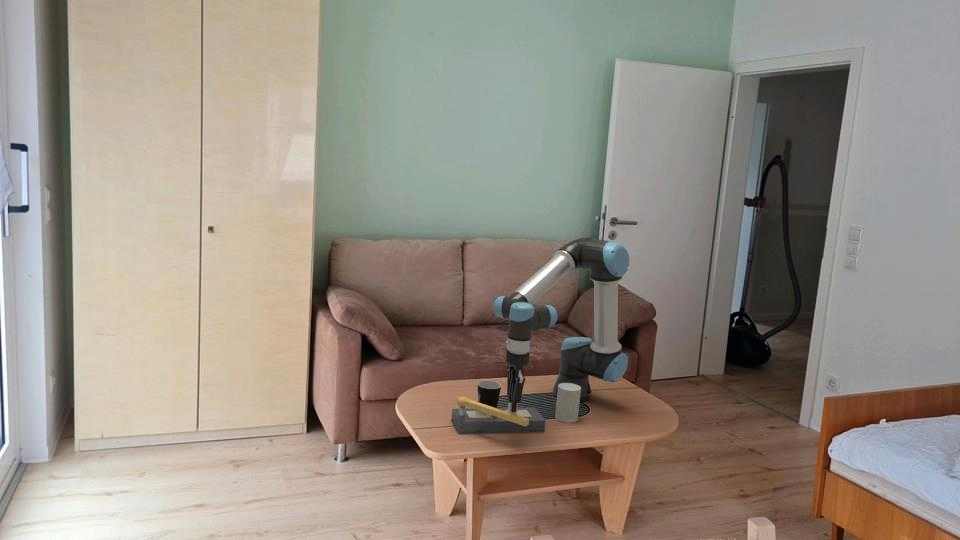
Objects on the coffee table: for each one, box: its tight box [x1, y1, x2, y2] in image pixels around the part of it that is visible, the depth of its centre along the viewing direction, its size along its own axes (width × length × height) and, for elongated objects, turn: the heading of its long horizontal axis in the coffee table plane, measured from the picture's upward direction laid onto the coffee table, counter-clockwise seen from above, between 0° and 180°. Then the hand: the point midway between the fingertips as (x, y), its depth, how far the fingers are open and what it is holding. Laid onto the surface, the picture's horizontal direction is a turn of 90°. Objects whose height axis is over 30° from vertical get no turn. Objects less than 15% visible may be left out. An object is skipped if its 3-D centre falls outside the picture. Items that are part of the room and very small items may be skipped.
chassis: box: [450, 405, 546, 435], centre depth 250 cm, size 30×12×8 cm, turn 104°
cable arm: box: [456, 396, 529, 426], centre depth 239 cm, size 27×4×2 cm, turn 55°
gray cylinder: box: [554, 383, 581, 424], centre depth 261 cm, size 8×8×12 cm
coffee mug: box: [477, 380, 502, 408], centre depth 264 cm, size 12×9×10 cm
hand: (511, 419), depth 239 cm, fingers closed
